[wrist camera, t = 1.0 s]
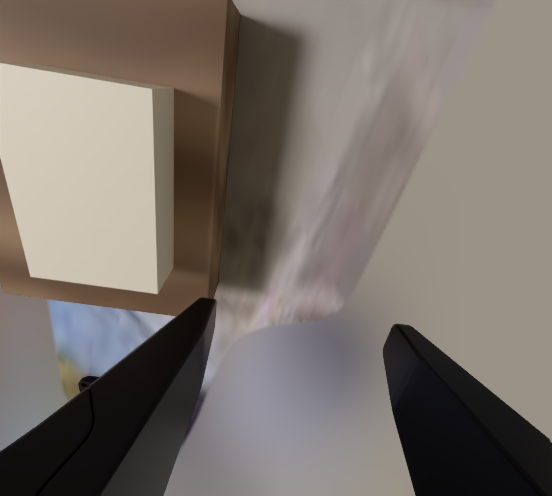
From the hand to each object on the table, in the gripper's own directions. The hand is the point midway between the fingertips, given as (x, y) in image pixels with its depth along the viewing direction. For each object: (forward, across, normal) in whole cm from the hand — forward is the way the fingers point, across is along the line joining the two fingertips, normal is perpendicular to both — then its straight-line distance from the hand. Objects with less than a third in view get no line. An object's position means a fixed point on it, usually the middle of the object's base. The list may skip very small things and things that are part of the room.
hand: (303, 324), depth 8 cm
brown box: (+12, +10, 0) cm, 16 cm away
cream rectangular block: (+7, +9, 0) cm, 12 cm away
